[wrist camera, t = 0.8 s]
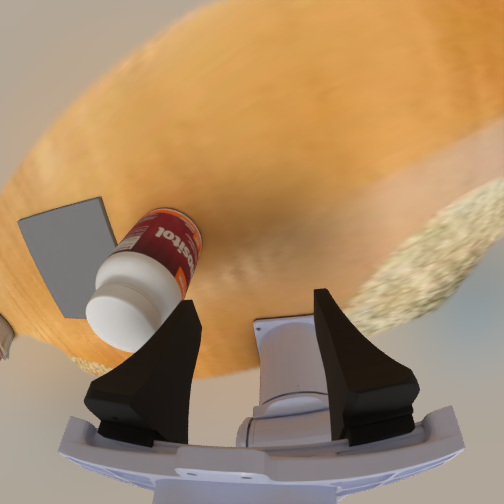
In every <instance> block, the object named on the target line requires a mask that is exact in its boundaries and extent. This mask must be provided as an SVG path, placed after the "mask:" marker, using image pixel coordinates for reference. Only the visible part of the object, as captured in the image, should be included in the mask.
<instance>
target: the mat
mask: <svg viewBox="0 0 504 504" xmlns="http://www.w3.org/2000/svg"><path fill="white" fill-rule="evenodd" d="M17 223H18V225H19V228H20V230H21V233H22V235H23V238H24V240H25V242H26V245H27V247H28V249H29V251H30V254H31V256H32V258H33V260H34V262H35V264H36V266H37V268H38V270H39V272H40V274H41V276H42V278H43V280H44V282H45V284H46V286H47V288H48V290H49V292H50V293H51V295H52V297H53V299H54V301H55V302H56V304H57V306H58V307H59V309H60V311H61V312H62V314H63V316H64V317H65V318H76V319H87V317H86V307H87V304H88V302H89V301H90V299H91V297H92V296H93V294H94V293H95V291H96V285H95V284H96V276H97V273H98V270H99V268H100V267H101V265H102V264H103V263H104V261H105V260H106V259H107V257H108V256H109V255H110V254H111V253H112V252H113V250H114V249H115V248H116V247H117V246H118V245H117V242H116V239H115V237H114V234H113V231H112V228H111V225H110V223H109V220H108V217H107V214H106V211H105V208H104V205H103V201H102V198H101V197H98V198H94V199H90V200H86V201H82V202H78V203H74V204H71V205H67V206H63V207H60V208H56V209H53V210H50V211H46V212H43V213H40V214H36V215H33V216H30V217H27V218H24V219H21V220H19V221H18V222H17Z"/></svg>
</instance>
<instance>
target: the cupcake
mask: <svg viewBox="0 0 504 504" xmlns="http://www.w3.org/2000/svg"><path fill="white" fill-rule="evenodd" d="M13 337H14V332H13V330H12V328H11V326H10V325H9V324H8V322H7V321H6V320H5V319H4V318H3V317H2V316H1V315H0V360H1V359H2V358H3V359H4V360H6V358H7V359H9V349H10V346H11V343H12V340H13Z"/></svg>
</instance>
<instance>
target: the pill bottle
mask: <svg viewBox="0 0 504 504" xmlns="http://www.w3.org/2000/svg"><path fill="white" fill-rule="evenodd" d="M201 250H202V239H201V235H200V233H199V230H198V228H197V227H196V225H195V224H194V223H193V221H192V220H191V219H189V218H188V217H187V216H185V215H184V214H182V213H180V212H178V211H176V210H172V209H164V208H163V209H157V210H153V211H151V212H149V213H147V214H146V215H145V216H144V217H142V218H141V219H140V220H139V221H138V223H137V224H136V225H135V226H134V227H133V228H132V229H131V230H130V232H129V233H128V234H127V235H126V236H125V237H124V239H123V240H122V241H121V242H120V243H119V244H118V246H117V247H116V248H115V249H114V250H113V252H112V253H111V254H110V255H109V256H108V257H107V259H106V260H105V261H104V263H103V264H102V265H101V267H100V268H99V270H98V273H97V276H96V284H95V285H96V291H95V293H94V294H93V296H92V297H91V299H90V301H89V302H88V304H87V307H86V317H87V321H88V323H89V325H90V327H91V328H92V330H93V331H94V332H95V333H96V334H97V336H99V337H100V338H101V339H102V340H103V341H105V342H106V343H108V344H109V345H111V346H113V347H115V348H117V349H119V350H123V351H127V352H133V353H135V352H137V351H138V350H139V349H140V348H141V347H142V346H143V345H144V344H145V343H146V342H147V341H148V340H149V339H150V338H151V337H152V336H153V334H154V333H155V332H156V331H157V330H158V329H159V328H160V326H161V325H162V324H163V323H164V321H165V320H166V319H167V318H168V316H169V315H170V314H171V313H172V311H173V310H174V309H175V308H176V306H177V305H178V304H179V303H180V301H181V300H184V298H185V295H186V292H187V289H188V287H189V284H190V281H191V278H192V276H193V273H194V270H195V268H196V265H197V263H198V260H199V257H200V254H201Z"/></svg>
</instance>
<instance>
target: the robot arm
mask: <svg viewBox="0 0 504 504" xmlns="http://www.w3.org/2000/svg"><path fill="white" fill-rule="evenodd" d="M253 327H254V332H255V337H256V342H257V347H258V352H259V357H260V362H261V368H260V401H259V406H255V407H254V408H253V417H248V418H246V419H245V420H244V421H243V423H242V424H241V426H240V427H239V429H238V432H237V437H236V447H217V446H216V447H215V446H200V445H189V444H188V415H189V400H190V391H191V383H192V378H193V373H194V369H195V365H196V360H197V356H198V352H199V348H200V342H201V332H202V326H201V323H200V320H199V318H198V315H197V312H196V309H195V307H194V304H193V301H192V300H181V301H180V303H179V304H178V305H177V306H176V308H175V309H174V310H173V311H172V313H171V314H170V315H169V316H168V318H167V319H166V320H165V321H164V323H163V324H162V325H161V326H160V328H159V329H158V330H157V331H156V332H155V333H154V334H153V336H152V337H151V338H150V339H149V340H148V341H147V342H146V343H145V344H144V345H143V346H142V347H141V348H140V349H139V350H138V351H137V352H135V353H134V354H133V355H132V356H131V357H129V358H128V359H127V360H126V361H124V362H123V363H122V364H120V365H119V366H117V367H116V368H114V369H113V370H111V371H110V372H108V373H106V374H105V375H103V376H101V377H99V378H97V379H95V380H94V381H92V382H91V384H90V387H89V389H88V392H87V394H86V396H85V399H84V403H85V405H86V407H87V408H88V409H89V410H90V411H91V412H92V413H93V414H94V415H95V416H96V417H98V418H99V419H100V420H101V423H100V426H99V429H98V428H95V426H93V425H92V424H91V423H90V422H88V421H86V420H83V419H79V418H76V417H72V416H71V417H70V419H69V421H68V424H67V427H66V429H65V432H64V435H63V438H62V441H61V443H60V446H59V449H58V453H60V454H61V455H62V456H64V457H66V458H67V459H69V460H71V461H72V462H74V463H76V464H77V465H79V466H81V467H83V468H84V469H87V470H90V471H92V472H95V473H98V474H101V475H103V476H106V477H109V478H112V479H115V480H118V481H121V482H124V483H128V484H131V485H134V486H138V487H141V488H145V489H149V490H152V491H155V492H154V498H153V504H337V503H338V502H339V501H340V500H342V499H343V498H344V497H346V496H347V495H349V494H353V493H358V492H362V491H366V490H370V489H374V488H377V487H381V486H384V485H388V484H391V483H394V482H397V481H400V480H403V479H406V478H409V477H412V476H415V475H418V474H421V473H423V472H426V471H429V470H431V469H434V468H437V467H439V466H441V465H443V464H445V463H446V462H448V461H449V460H450V459H452V458H453V457H455V456H456V455H458V454H459V453H460V452H461V451H463V450H464V449H465V445H464V441H463V438H462V434H461V431H460V428H459V425H458V422H457V419H456V416H455V413H454V410H453V407H452V406H447V407H444V408H442V409H439V410H436V411H433V412H431V413H429V414H427V415H426V416H425V417H424V419H423V420H422V421H420V422H417V423H414V420H413V416H412V413H413V407H412V403H413V402H414V400H415V399H416V397H417V395H418V393H419V391H420V388H419V384H418V382H417V379H416V378H415V376H414V374H413V372H412V370H411V369H409V368H407V367H406V366H404V365H402V364H400V363H398V362H396V361H395V360H393V359H392V358H390V357H389V356H387V355H386V354H385V353H383V352H382V351H381V350H379V349H378V348H377V347H376V346H374V345H373V344H372V343H371V342H370V341H369V340H368V339H366V338H365V337H364V336H363V335H362V334H361V333H360V332H359V331H358V330H357V328H356V327H355V326H354V325H353V324H352V323H351V322H350V321H349V319H348V318H347V317H346V316H345V314H344V313H343V312H342V310H341V309H340V308H339V306H338V305H337V304H336V302H335V301H334V299H333V298H332V296H331V294H330V293H329V291H328V290H327V289H326V288H324V289H315V290H314V315H309V316H299V317H289V318H277V319H265V320H256V321H254V323H253ZM258 327H259V328H258Z"/></svg>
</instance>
